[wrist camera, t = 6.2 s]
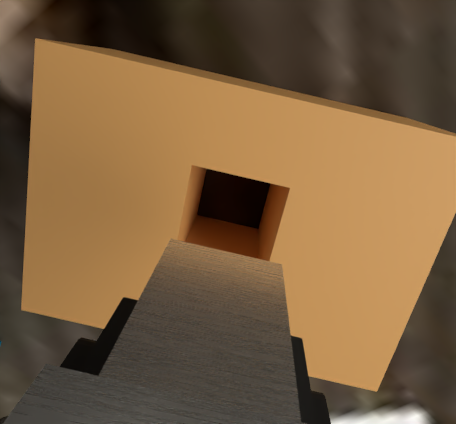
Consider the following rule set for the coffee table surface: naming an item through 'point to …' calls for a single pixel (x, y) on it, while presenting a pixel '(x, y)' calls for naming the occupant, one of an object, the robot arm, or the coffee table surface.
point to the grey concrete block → (186, 352)
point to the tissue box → (241, 166)
